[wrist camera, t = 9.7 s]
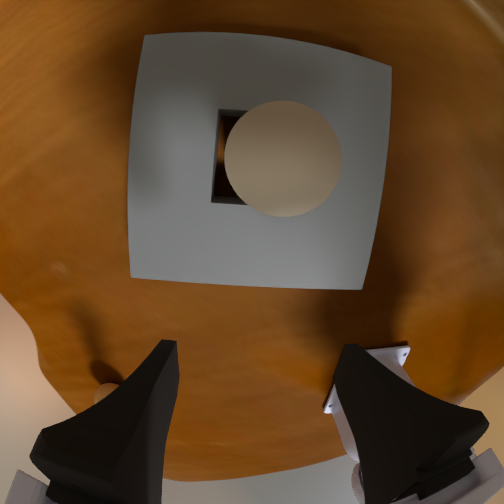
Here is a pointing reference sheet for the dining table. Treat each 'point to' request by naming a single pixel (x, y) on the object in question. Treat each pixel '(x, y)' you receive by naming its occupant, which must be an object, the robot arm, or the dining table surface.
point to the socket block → (205, 158)
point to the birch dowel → (283, 158)
